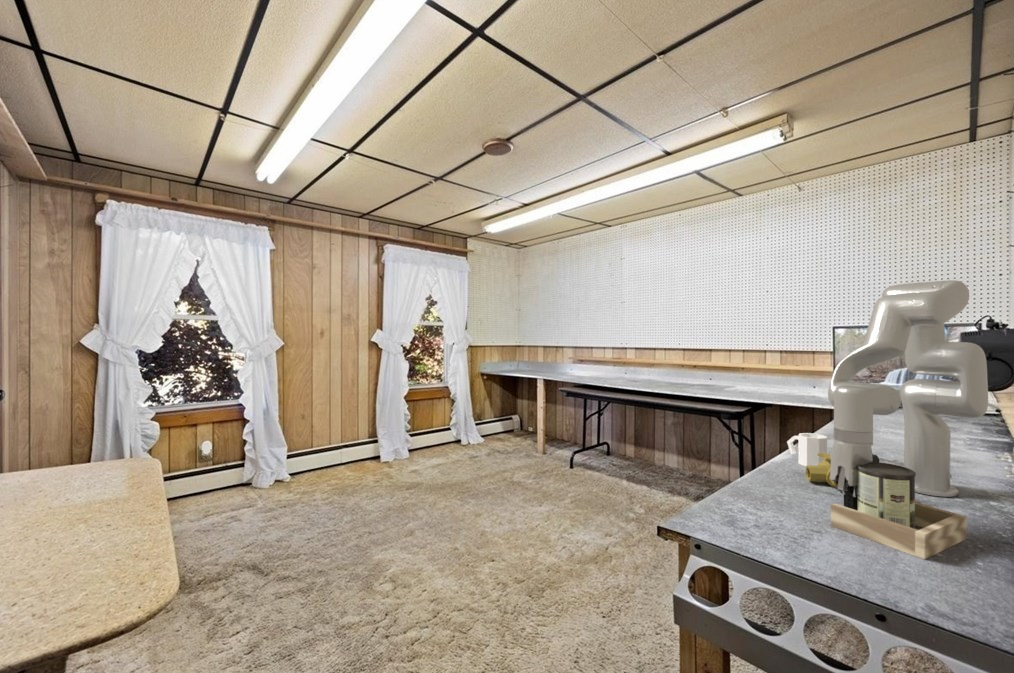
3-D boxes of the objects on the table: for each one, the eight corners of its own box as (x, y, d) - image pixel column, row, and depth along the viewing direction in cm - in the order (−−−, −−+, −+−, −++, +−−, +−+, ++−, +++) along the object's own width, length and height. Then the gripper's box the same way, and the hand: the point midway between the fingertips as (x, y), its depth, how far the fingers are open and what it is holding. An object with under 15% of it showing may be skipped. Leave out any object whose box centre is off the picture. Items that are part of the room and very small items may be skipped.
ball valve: (857, 493, 123) (857, 457, 123) (814, 489, 126) (814, 455, 126) (838, 478, 135) (838, 446, 135) (800, 475, 138) (800, 444, 138)
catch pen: (874, 510, 111) (874, 490, 111) (966, 538, 95) (966, 516, 95) (830, 525, 103) (830, 504, 102) (924, 559, 87) (924, 534, 87)
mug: (832, 465, 148) (832, 436, 147) (820, 469, 143) (820, 440, 143) (793, 456, 158) (793, 429, 158) (781, 460, 153) (781, 433, 153)
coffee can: (880, 517, 107) (881, 460, 107) (928, 536, 97) (928, 473, 96) (845, 520, 105) (845, 462, 105) (889, 541, 95) (889, 476, 95)
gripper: (852, 430, 113) (852, 500, 113) (818, 436, 107) (818, 511, 107) (887, 436, 106) (887, 511, 107) (853, 443, 100) (853, 523, 100)
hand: (852, 511), depth 107 cm, fingers closed
